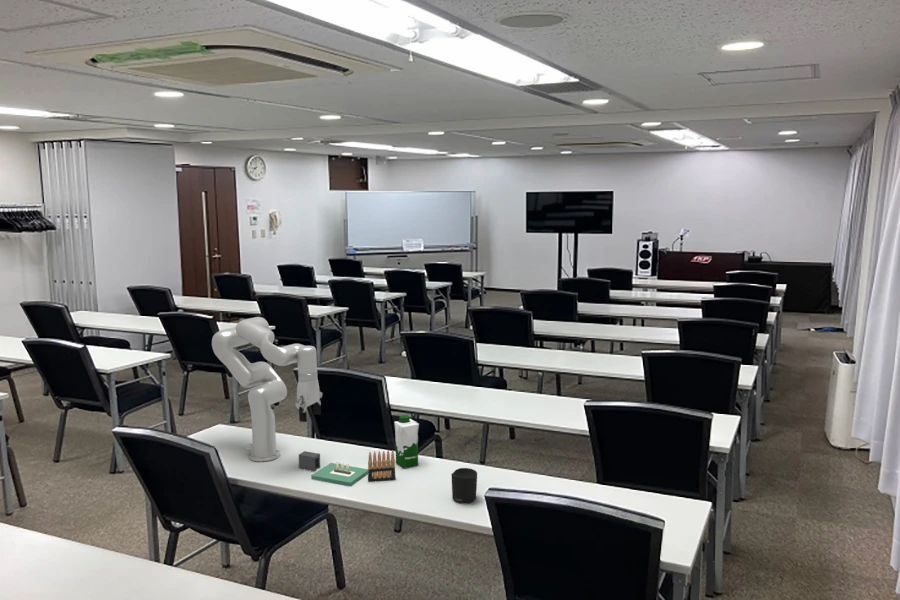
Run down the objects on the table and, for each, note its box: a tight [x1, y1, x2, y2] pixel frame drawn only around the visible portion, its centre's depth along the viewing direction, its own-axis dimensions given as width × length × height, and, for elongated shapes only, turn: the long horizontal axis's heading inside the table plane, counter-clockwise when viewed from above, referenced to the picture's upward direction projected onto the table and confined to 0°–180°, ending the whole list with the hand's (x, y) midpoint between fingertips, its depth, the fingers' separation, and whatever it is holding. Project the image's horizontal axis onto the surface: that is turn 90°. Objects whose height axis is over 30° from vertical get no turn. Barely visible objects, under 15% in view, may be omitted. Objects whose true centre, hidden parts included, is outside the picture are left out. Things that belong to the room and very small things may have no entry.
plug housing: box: [298, 450, 321, 472], centre depth 275 cm, size 8×4×6 cm, turn 67°
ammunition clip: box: [367, 449, 397, 483], centre depth 262 cm, size 11×2×12 cm, turn 101°
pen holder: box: [450, 467, 478, 504], centre depth 246 cm, size 9×9×10 cm
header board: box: [310, 461, 368, 487], centre depth 267 cm, size 18×14×5 cm
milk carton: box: [394, 414, 420, 470], centre depth 277 cm, size 9×9×20 cm
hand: (310, 417), depth 272 cm, fingers open, 9 cm apart
